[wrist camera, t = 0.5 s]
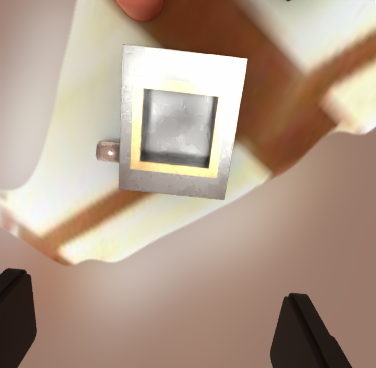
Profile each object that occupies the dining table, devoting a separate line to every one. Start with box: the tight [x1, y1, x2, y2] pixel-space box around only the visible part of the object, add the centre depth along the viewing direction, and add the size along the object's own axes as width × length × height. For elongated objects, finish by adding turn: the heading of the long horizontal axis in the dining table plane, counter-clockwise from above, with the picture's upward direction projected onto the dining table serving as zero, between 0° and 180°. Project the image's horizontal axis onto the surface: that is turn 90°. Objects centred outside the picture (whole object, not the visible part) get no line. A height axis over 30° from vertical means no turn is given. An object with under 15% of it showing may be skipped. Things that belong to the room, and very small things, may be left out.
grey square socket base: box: [96, 44, 247, 200], centre depth 33 cm, size 16×16×5 cm
